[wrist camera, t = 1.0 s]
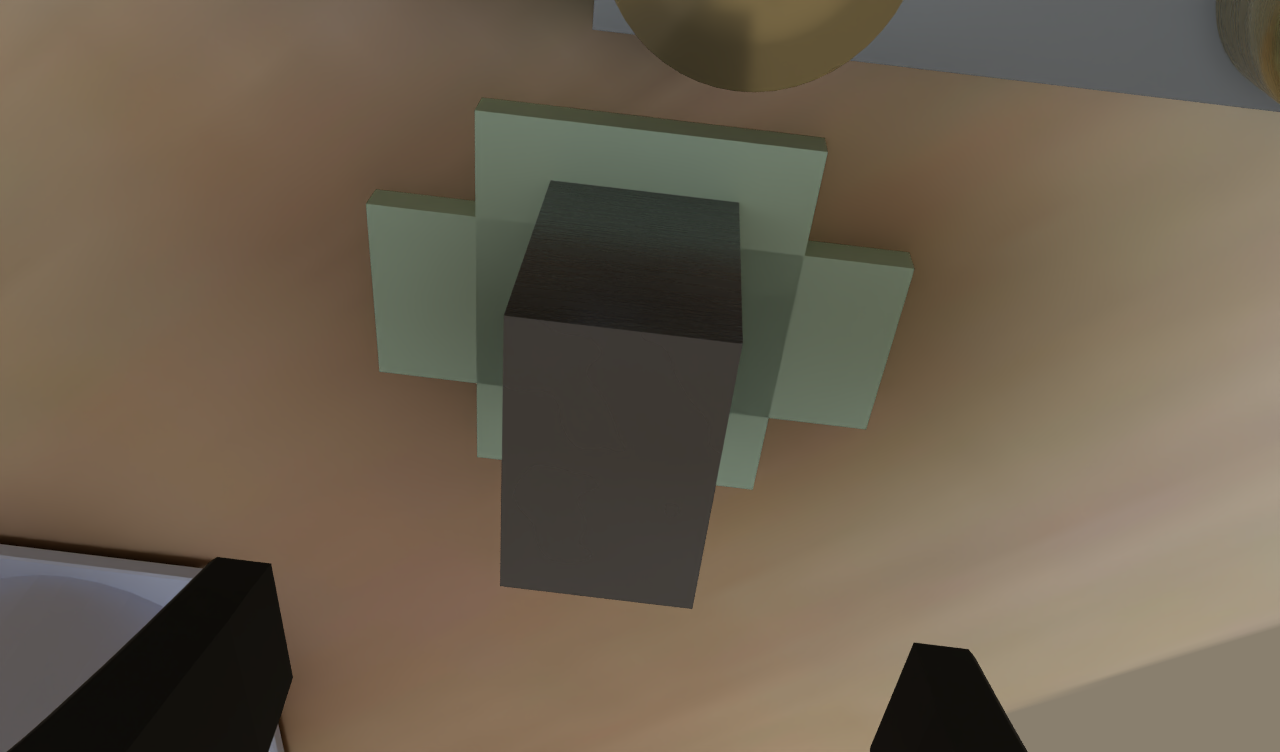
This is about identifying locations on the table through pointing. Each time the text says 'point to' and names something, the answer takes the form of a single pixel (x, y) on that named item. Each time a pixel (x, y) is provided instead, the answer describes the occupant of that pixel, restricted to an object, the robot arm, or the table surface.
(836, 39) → the chassis
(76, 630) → the robot arm
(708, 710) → the table surface
